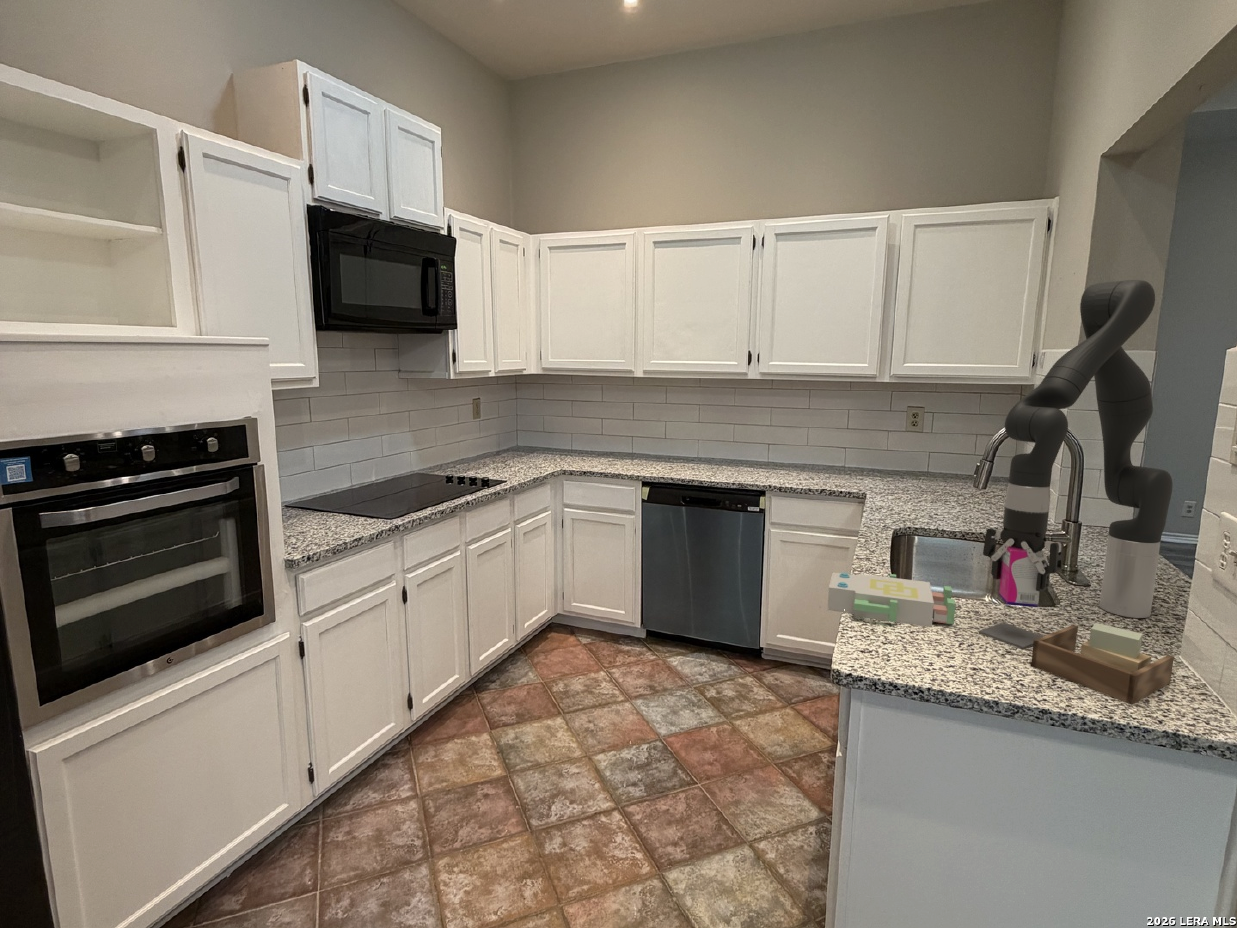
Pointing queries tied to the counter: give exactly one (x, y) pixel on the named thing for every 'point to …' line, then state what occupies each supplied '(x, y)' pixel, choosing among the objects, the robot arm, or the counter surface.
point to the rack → (1098, 668)
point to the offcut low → (1116, 658)
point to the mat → (1011, 635)
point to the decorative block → (890, 599)
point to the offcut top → (1115, 640)
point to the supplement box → (1019, 578)
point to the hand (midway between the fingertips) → (1018, 584)
